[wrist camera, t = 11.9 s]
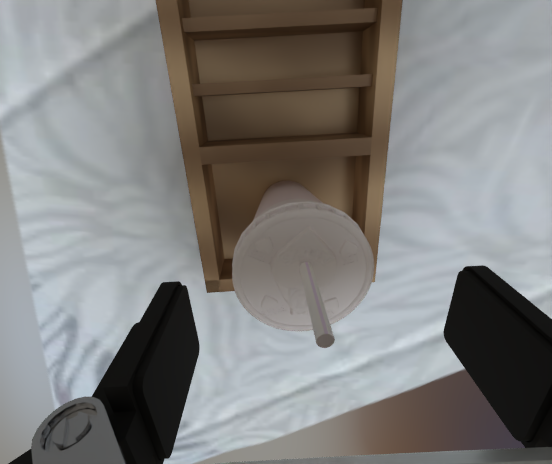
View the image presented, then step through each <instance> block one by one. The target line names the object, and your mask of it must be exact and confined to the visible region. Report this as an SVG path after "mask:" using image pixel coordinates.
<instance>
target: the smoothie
mask: <svg viewBox="0 0 552 464" xmlns="http://www.w3.org/2000/svg"><path fill="white" fill-rule="evenodd" d="M373 274H374V258H373V253H372V250H371V247H370V245H369V242H368V241H367V239H366V237H365V236H364V234H363V232H362V231H361V229H360V227H359V226H358V224H357V223H356V222H355V221H354V220H352V219H351V218H350V217H349V216H348V215H347V214H346V213H345V212H343V211H341V210H338V209H336V208H334V207H332V206H330V205H328V204H323V203H322V202H321V201H320V200H319V199H318V198H316V197H315V196H314V195H313V194H312V193H310V192H309V191H308V190H307V189H306V188H304V187H303V186H302V185H301V184H299V183H297V182H294V181H280V182H277V183H275V184H273V185H272V186H270V187H269V188H268V189H267V190H266V192H265V193H264V195H263V197H262V200H261V202H260V205H259V207H258V210H257V212H256V215H255V217H254V220H253V221H252V223H251V224H250V225H249V226H248V227H247V228H246V229H245V230H244V231H243V233H242V234H241V236H240V238H239V240H238V243H237V245H236V247H235V249H234V255H233V262H232V280H233V286H234V289H235V292H236V295H237V297H238V299H239V301H240V302H241V304H242V305H243V307H244V308H245V309H246V310H247V311H248V312H249V313H250V314H251V315H252V316H254V317H255V318H256V319H258V320H259V321H261V322H263V323H265V324H267V325H269V326H272V327H275V328H278V329H282V330H288V331H309V330H314V335H315V339H316V343H317V345H318V346H319V347H322V348H327V347H330V346H331V345H332V344H333V343H334V340H335V339H334V336H333V332H332V329H331V326H330V325H331V324H333V323H335V322H337V321H339V320H341V319H342V318H344V317H345V316H347V315H348V314H350V313H351V312H352V311H353V310H354V309H355V308H356V307H357V306H358V305H359V304H360V303H361V301H362V300H363V299H364V297H365V296H366V294H367V292H368V290H369V288H370V285H371V282H372V279H373Z"/></svg>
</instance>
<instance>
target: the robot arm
mask: <svg viewBox="0 0 552 464" xmlns="http://www.w3.org/2000/svg"><path fill="white" fill-rule="evenodd" d="M444 337H445V340H446V342H447V343H448V345H449V346H450V348H451V349H452V350H453V352H454V353H455V355H456V356H457V358H458V359H459V360H460V362H461V363H462V365H463V366H464V367H465V369H466V370H467V372H468V373H469V374H470V376H471V377H472V379H473V380H474V382H475V383H476V385H477V386H478V387H479V389H480V390H481V392H482V393H483V395H484V396H485V397H486V399H487V400H488V402H489V403H490V405H491V406H492V407H493V409H494V410H495V412H496V413H497V415H498V416H499V417H500V419H501V420H502V422H503V423H504V425H505V426H506V427H507V429H508V430H509V432H510V433H511V434H512V436H513V437H514V438H515V439H516V440H518V441H521V442H522V444H523V445H524V446H525V448H516V449H493V450H470V451H469V450H468V451H446V452H424V453H402V454H383V455H361V456H343V457H342V456H341V457H324V458H323V457H322V458H303V459H284V460H266V461H248V462H231V463H218V464H552V319H551V318H549V317H548V316H547V315H546V314H544V313H543V312H542V311H541V310H540V309H538V308H537V307H536V306H535V305H533V304H532V303H531V302H530V301H528V300H527V299H526V298H525V297H524V296H522V295H521V294H520V293H519V292H517V291H516V290H515V289H514V288H512V287H511V286H510V285H509V284H508V283H506V282H505V281H504V280H503V279H501V278H500V277H499V276H498V275H496V274H495V273H494V272H493V271H492V270H490V269H489V268H488V267H486V266H467V267H465V268H464V269H463V270H462V271H460V272H459V273H458V276H457V280H456V284H455V288H454V292H453V296H452V300H451V304H450V308H449V312H448V316H447V320H446V324H445V328H444ZM198 355H199V340H198V336H197V331H196V326H195V322H194V317H193V313H192V308H191V304H190V299H189V294H188V290H187V287H186V286H185V285H184V286H182V284H181V283H180V282H163V283H162V284H161V285H160V287H159V289H158V290H157V292H156V294H155V296H154V297H153V299H152V301H151V303H150V304H149V306H148V308H147V310H146V312H145V313H144V315H143V317H142V319H141V320H140V322H139V323H136V324H135V325H134V326H133V327H132V329H131V330H130V332H129V334H128V335H127V337H126V339H125V341H124V342H123V344H122V346H121V347H120V349H119V351H118V353H117V354H116V356H115V358H114V359H113V361H112V363H111V364H110V366H109V368H108V370H107V371H106V373H105V375H104V376H103V378H102V380H101V382H100V383H99V385H98V387H97V388H96V390H95V392H94V394H93V395H92V397H82V398H77V399H74V400H72V401H70V402H67V403H65V404H64V405H62V406H61V407H59V408H58V409H56V410H55V411H53V412H52V413H51V414H50V415H49V416H48V417H47V418H46V419H45V420H44V421H43V422H42V424H41V425H40V426H39V428H38V429H37V431H36V433H35V435H34V437H33V439H32V446H31V449H30V450H28V451H27V452H25V453H24V454H22V455H21V456H19V457H18V458H16V459H15V460H13V461H12V462H10V463H9V464H163V462H164V459H165V458H169V457H170V456H171V453H172V450H173V446H174V443H175V439H176V435H177V432H178V428H179V424H180V421H181V417H182V413H183V410H184V406H185V402H186V399H187V395H188V391H189V388H190V384H191V380H192V377H193V373H194V369H195V366H196V362H197V358H198Z"/></svg>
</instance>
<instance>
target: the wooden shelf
mask: <svg viewBox="0 0 552 464" xmlns="http://www.w3.org/2000/svg"><path fill="white" fill-rule="evenodd" d="M156 5H157V11H158V16H159V22H160V28H161V33H162V39H163V45H164V51H165V56H166V62H167V68H168V73H169V79H170V85H171V90H172V96H173V102H174V107H175V113H176V119H177V124H178V130H179V136H180V142H181V147H182V153H183V159H184V164H185V170H186V176H187V181H188V187H189V193H190V198H191V204H192V210H193V215H194V221H195V227H196V233H197V238H198V244H199V250H200V255H201V261H202V267H203V272H204V278H205V284H206V289H207V293H210V292H226V291H235V289H234V286H233V280H232V262H233V255H234V249H235V247H236V245H237V243H238V240H239V238H240V236H241V234H242V233H243V231H244V230H245V229H246V228H247V227H248V226H249V225H250V224H251V223H252V221H253V220H254V217H255V215H256V212H257V210H258V207H259V205H260V202H261V200H262V197H263V195H264V193H265V192H266V190H267V189H268V188H269V187H270V186H272V185H273V184H275V183H277V182H280V181H294V182H297V183H299V184H301V185H302V186H303V187H304V188H306V189H307V190H308V191H309V192H310V193H312V194H313V195H314V196H315V197H316V198H318V199H319V200H320V201H321V202H322V203H323V204H328V205H330V206H332V207H334V208H336V209H338V210H341V211H343V212H345V213H346V214H347V215H348V216H349V217H350V218H351V219H352V220H354V221H355V222H356V223H357V224H358V226H359V227H360V229H361V231H362V232H363V234H364V236H365V237H366V239H367V241H368V242H369V245H370V247H371V250H372V253H373V258H374V274H373V279H372V282H375V274H376V264H377V254H378V243H379V233H380V223H381V213H382V203H383V193H384V183H385V172H386V162H387V152H388V142H389V132H390V122H391V111H392V101H393V91H394V81H395V71H396V61H397V50H398V40H399V30H400V20H401V10H402V0H156Z"/></svg>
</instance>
